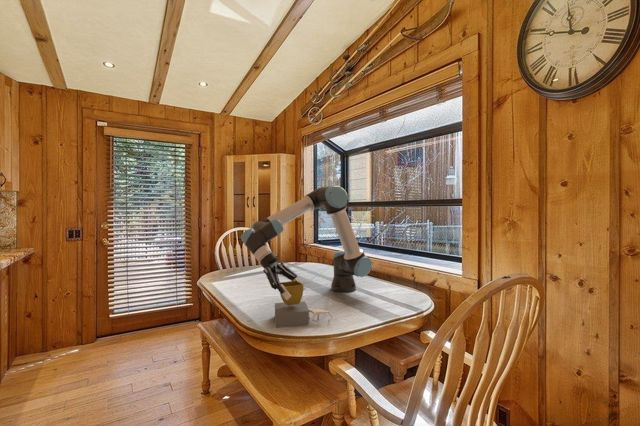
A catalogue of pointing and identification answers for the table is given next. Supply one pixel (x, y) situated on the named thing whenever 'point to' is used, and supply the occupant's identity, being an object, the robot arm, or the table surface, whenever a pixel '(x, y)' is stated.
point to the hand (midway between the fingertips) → (296, 294)
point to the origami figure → (318, 311)
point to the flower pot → (293, 292)
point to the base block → (291, 315)
